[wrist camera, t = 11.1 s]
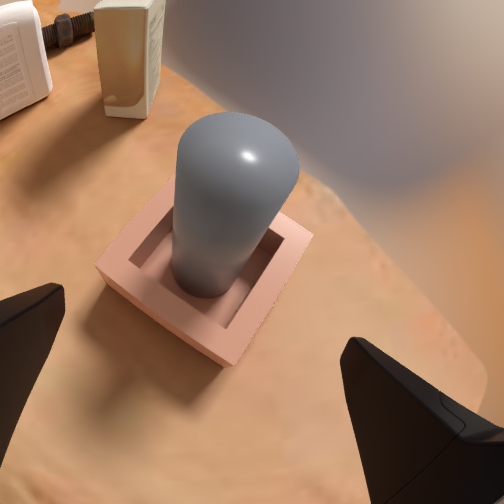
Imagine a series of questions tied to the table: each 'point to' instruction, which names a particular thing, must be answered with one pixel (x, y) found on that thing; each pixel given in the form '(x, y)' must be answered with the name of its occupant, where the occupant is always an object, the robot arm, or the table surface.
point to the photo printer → (21, 58)
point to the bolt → (67, 29)
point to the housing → (193, 308)
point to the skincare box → (129, 54)
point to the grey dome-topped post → (226, 197)
